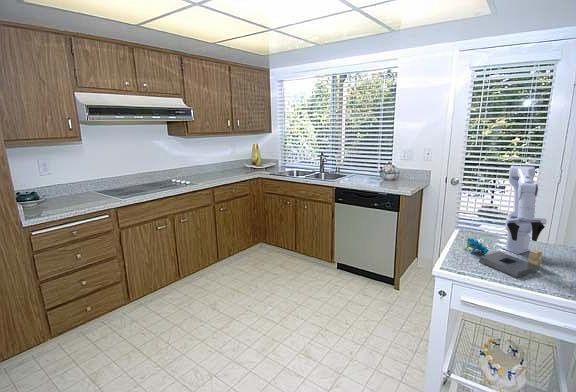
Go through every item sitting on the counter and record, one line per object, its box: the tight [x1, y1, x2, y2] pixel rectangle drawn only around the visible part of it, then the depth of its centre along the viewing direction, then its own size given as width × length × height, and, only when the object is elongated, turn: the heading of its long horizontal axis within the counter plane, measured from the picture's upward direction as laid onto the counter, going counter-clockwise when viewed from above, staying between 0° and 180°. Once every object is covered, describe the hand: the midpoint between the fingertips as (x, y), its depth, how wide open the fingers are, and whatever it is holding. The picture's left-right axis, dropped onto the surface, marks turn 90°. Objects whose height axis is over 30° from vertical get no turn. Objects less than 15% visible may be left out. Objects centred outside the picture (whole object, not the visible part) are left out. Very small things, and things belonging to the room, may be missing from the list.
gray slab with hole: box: [478, 251, 539, 279], centre depth 133 cm, size 13×16×2 cm
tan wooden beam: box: [527, 248, 543, 268], centre depth 133 cm, size 4×3×7 cm, turn 113°
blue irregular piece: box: [464, 237, 489, 255], centre depth 147 cm, size 11×6×10 cm
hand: (524, 240), depth 131 cm, fingers open, 7 cm apart
